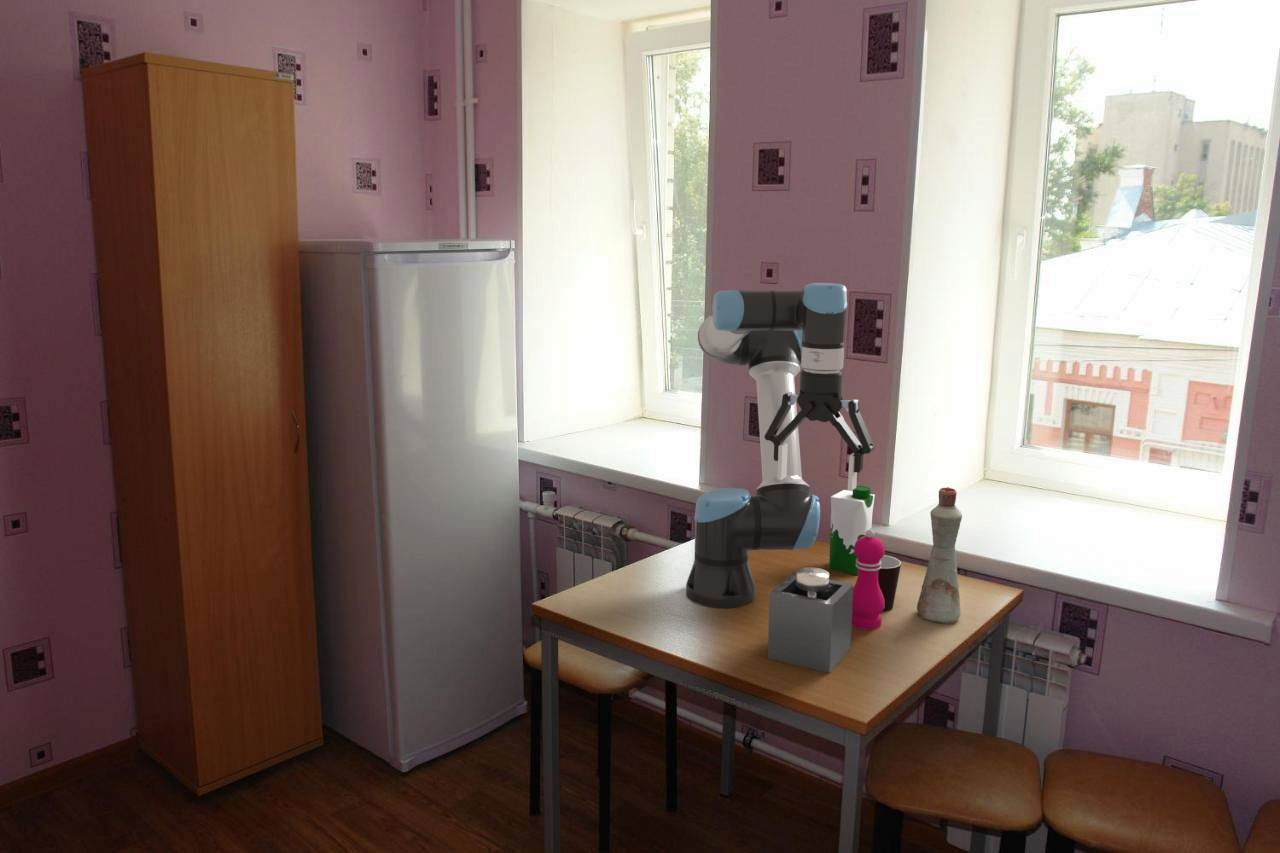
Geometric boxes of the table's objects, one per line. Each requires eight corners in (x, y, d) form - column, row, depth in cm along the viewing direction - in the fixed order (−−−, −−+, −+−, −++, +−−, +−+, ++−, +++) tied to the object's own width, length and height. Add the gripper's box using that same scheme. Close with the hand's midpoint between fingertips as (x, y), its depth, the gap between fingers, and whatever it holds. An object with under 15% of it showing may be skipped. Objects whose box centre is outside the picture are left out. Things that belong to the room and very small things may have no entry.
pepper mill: (844, 616, 196) (848, 523, 192) (879, 616, 196) (884, 524, 192) (850, 630, 189) (855, 535, 185) (887, 631, 189) (892, 535, 185)
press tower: (767, 658, 176) (769, 592, 174) (791, 635, 187) (793, 572, 184) (829, 673, 170) (832, 605, 168) (850, 648, 181) (853, 584, 178)
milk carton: (859, 577, 218) (863, 494, 214) (823, 569, 223) (827, 487, 219) (874, 567, 225) (878, 485, 221) (838, 559, 230) (842, 479, 226)
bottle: (910, 620, 194) (919, 488, 188) (922, 605, 202) (931, 478, 196) (953, 629, 190) (964, 494, 184) (964, 614, 197) (974, 484, 192)
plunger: (781, 650, 177) (784, 575, 174) (797, 634, 184) (800, 562, 181) (822, 659, 173) (826, 583, 170) (837, 643, 180) (840, 570, 177)
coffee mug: (899, 615, 196) (902, 569, 194) (857, 611, 198) (859, 566, 196) (896, 594, 208) (898, 551, 206) (856, 591, 209) (858, 548, 207)
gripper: (749, 366, 173) (746, 478, 178) (884, 379, 161) (876, 498, 165) (765, 361, 179) (762, 469, 184) (896, 373, 167) (888, 488, 172)
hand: (816, 483), depth 175 cm, fingers open, 13 cm apart
